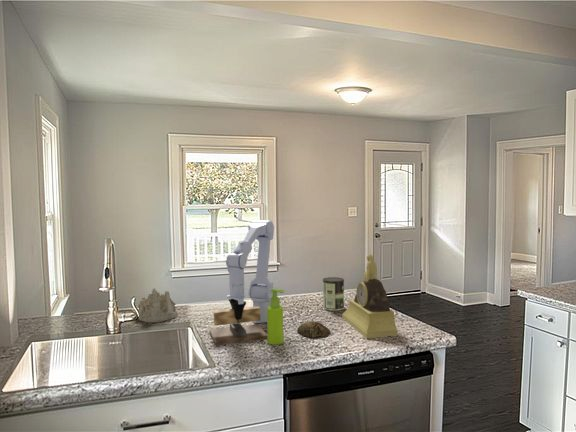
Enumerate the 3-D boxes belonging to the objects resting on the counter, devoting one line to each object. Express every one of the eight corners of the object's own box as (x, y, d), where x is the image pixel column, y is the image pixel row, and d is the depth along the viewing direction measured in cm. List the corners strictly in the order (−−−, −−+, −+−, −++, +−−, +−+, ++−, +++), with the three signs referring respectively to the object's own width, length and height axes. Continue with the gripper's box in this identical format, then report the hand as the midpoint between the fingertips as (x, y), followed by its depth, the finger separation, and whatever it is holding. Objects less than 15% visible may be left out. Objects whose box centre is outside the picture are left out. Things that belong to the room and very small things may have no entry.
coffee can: (343, 305, 214) (342, 276, 213) (345, 310, 203) (345, 281, 202) (322, 305, 214) (321, 277, 213) (323, 311, 203) (323, 281, 203)
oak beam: (258, 318, 174) (258, 306, 174) (260, 320, 171) (260, 308, 171) (213, 323, 168) (213, 310, 168) (215, 325, 165) (214, 312, 165)
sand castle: (181, 317, 196) (178, 284, 195) (144, 325, 186) (141, 291, 186) (169, 312, 209) (166, 281, 208) (134, 319, 199) (131, 287, 199)
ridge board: (257, 326, 180) (257, 316, 180) (267, 338, 166) (267, 326, 166) (209, 332, 174) (209, 321, 174) (215, 344, 160) (215, 332, 159)
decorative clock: (342, 318, 192) (341, 251, 190) (369, 316, 194) (369, 250, 193) (366, 338, 164) (366, 260, 163) (397, 336, 167) (397, 259, 165)
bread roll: (294, 331, 175) (293, 319, 175) (321, 327, 180) (320, 315, 180) (307, 340, 164) (307, 327, 163) (336, 336, 168) (336, 323, 168)
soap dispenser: (280, 346, 157) (279, 292, 156) (264, 342, 161) (263, 289, 160) (288, 341, 162) (287, 288, 161) (273, 338, 166) (272, 286, 165)
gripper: (223, 281, 175) (224, 314, 175) (230, 288, 161) (231, 324, 162) (240, 279, 177) (241, 312, 178) (248, 286, 163) (249, 322, 164)
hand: (237, 318), depth 170 cm, fingers closed on oak beam, 3 cm apart
